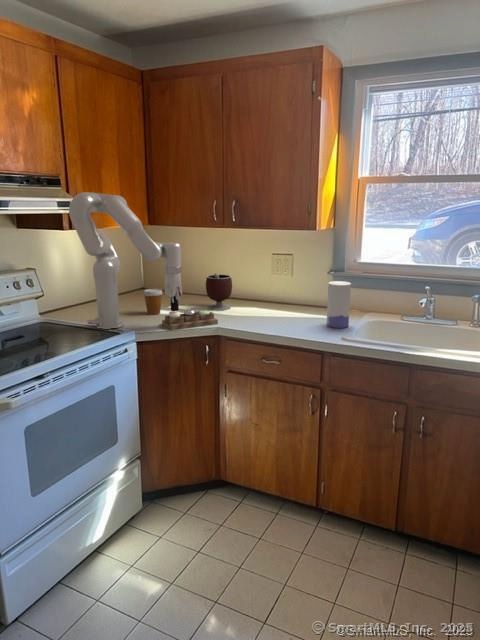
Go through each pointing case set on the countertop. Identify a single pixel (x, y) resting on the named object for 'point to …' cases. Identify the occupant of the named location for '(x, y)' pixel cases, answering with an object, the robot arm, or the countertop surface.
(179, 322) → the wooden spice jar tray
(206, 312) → the sage button
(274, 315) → the countertop surface
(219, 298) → the mate gourd
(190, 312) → the grey button
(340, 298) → the container
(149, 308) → the disposable coffee cup
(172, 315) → the cream button
